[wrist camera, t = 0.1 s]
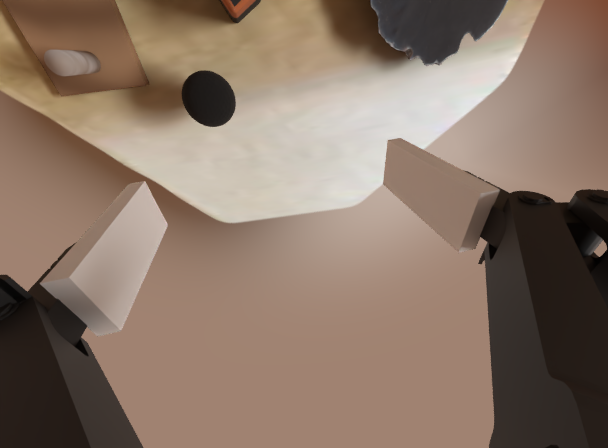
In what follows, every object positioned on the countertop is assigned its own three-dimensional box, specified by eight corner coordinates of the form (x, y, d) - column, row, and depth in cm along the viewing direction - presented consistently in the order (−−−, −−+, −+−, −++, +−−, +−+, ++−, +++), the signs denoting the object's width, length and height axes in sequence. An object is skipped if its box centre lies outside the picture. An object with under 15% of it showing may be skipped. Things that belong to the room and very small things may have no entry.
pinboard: (-51, -105, 22) (-164, -167, 16) (69, -110, 23) (7, -170, 17) (68, 94, 31) (26, 104, 25) (149, 84, 32) (127, 90, 26)
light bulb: (204, 57, 32) (192, 57, 24) (244, 88, 35) (244, 98, 27) (185, 97, 34) (167, 110, 26) (224, 123, 37) (218, 142, 29)
